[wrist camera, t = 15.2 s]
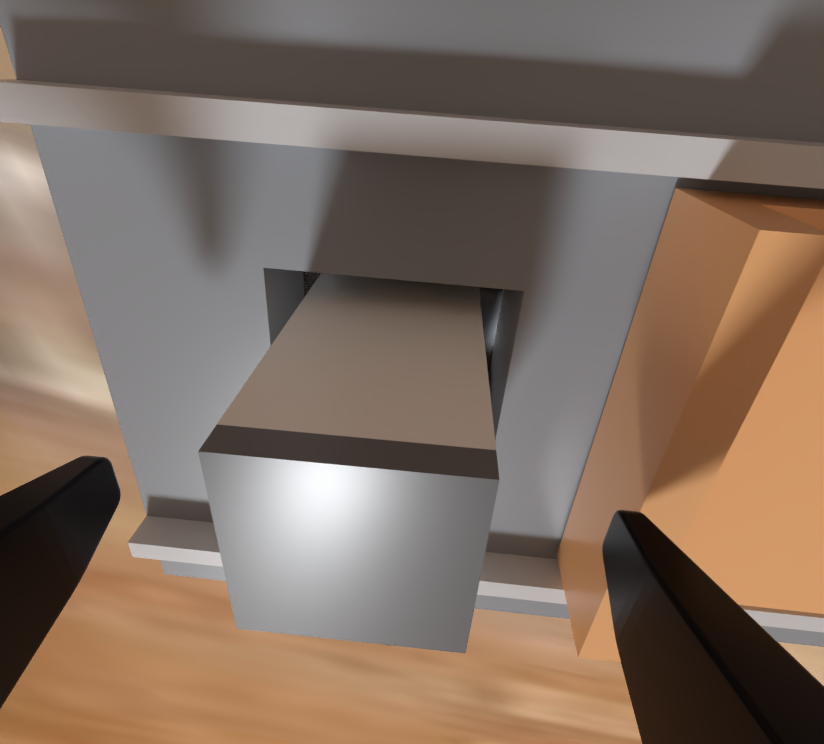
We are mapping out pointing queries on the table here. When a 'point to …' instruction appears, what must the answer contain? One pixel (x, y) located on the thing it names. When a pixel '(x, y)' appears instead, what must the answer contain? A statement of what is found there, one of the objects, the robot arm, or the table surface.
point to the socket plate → (397, 203)
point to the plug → (360, 468)
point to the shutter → (715, 411)
